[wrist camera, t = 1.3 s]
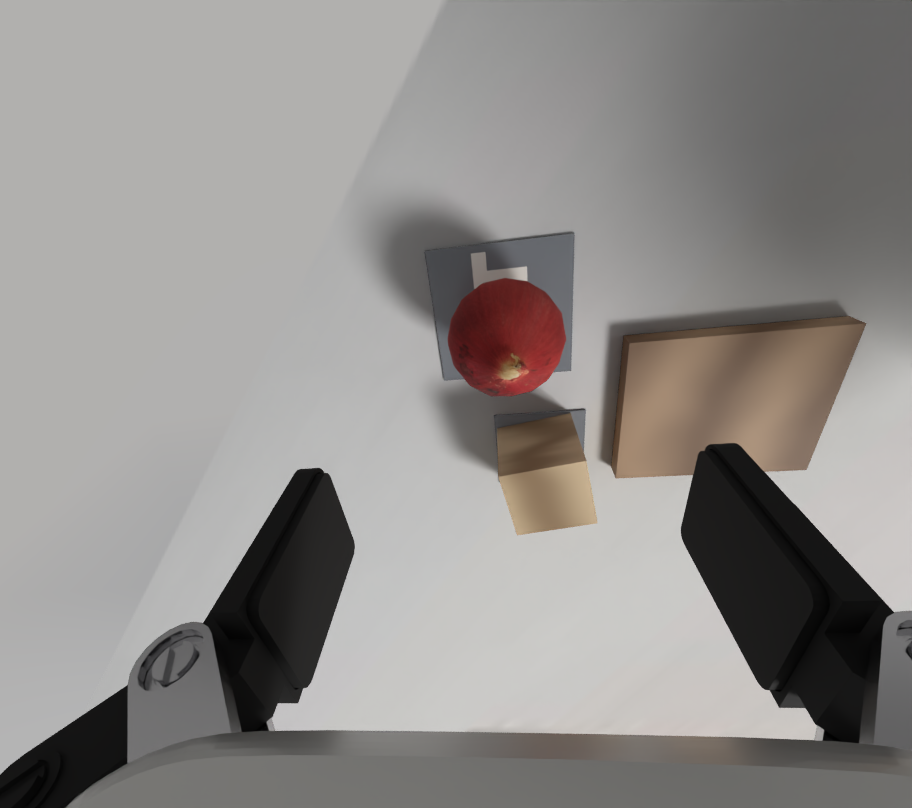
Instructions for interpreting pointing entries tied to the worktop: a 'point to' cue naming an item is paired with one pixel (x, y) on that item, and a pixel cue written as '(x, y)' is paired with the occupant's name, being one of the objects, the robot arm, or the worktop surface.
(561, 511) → the oak block
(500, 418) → the code tile
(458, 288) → the tile
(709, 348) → the board
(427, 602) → the worktop surface
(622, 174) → the worktop surface
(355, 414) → the worktop surface
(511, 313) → the onion
